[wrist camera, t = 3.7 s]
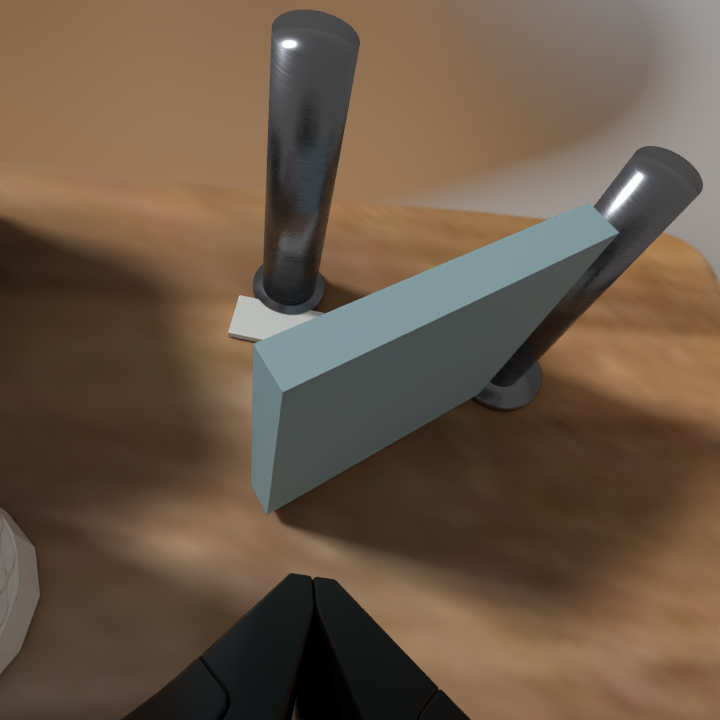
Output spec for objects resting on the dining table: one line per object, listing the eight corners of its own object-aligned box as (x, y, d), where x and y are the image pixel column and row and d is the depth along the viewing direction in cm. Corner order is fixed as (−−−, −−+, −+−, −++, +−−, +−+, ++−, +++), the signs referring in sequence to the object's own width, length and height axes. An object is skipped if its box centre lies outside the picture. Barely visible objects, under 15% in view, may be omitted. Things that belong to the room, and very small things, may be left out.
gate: (462, 371, 23) (588, 202, 14) (479, 393, 23) (619, 232, 14) (251, 485, 19) (253, 343, 10) (266, 514, 18) (282, 392, 10)
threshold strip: (446, 342, 24) (448, 339, 24) (444, 380, 23) (446, 376, 23) (239, 299, 23) (239, 295, 23) (228, 336, 22) (228, 332, 22)
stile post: (337, 294, 24) (397, 50, 15) (285, 330, 23) (312, 85, 13) (292, 251, 25) (319, -9, 15) (238, 283, 24) (231, 18, 14)
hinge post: (553, 376, 24) (758, 186, 15) (504, 428, 23) (701, 251, 13) (488, 319, 25) (640, 105, 16) (436, 365, 23) (571, 155, 14)
